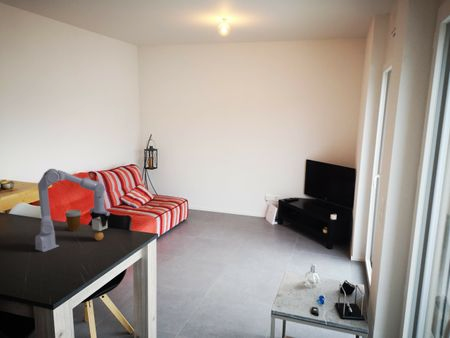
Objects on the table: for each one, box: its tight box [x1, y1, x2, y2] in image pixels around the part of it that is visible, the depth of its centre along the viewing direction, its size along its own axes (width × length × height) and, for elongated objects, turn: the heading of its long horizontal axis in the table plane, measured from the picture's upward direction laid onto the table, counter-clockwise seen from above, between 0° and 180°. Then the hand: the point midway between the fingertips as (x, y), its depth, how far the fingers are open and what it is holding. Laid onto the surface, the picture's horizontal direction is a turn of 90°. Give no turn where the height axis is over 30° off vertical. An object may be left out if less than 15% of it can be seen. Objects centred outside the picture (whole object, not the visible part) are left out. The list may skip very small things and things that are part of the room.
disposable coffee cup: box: [64, 209, 82, 232], centre depth 220 cm, size 10×10×12 cm
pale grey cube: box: [91, 216, 108, 232], centre depth 205 cm, size 6×6×6 cm
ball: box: [94, 231, 104, 241], centre depth 205 cm, size 5×5×5 cm
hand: (100, 225), depth 205 cm, fingers closed on pale grey cube, 6 cm apart
